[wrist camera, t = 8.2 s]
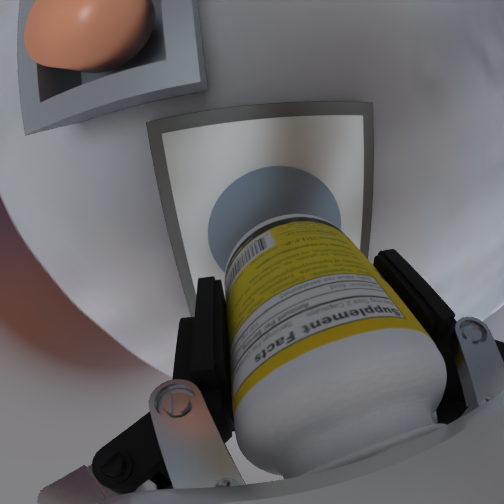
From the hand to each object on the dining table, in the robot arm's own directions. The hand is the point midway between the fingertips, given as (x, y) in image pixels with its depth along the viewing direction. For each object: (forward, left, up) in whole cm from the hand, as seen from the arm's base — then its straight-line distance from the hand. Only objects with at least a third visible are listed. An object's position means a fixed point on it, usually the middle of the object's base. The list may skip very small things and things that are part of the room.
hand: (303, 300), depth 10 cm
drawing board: (0, 0, -7) cm, 7 cm away
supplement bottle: (0, 0, -2) cm, 2 cm away
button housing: (+6, -11, -7) cm, 14 cm away
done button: (+6, -11, -3) cm, 13 cm away
